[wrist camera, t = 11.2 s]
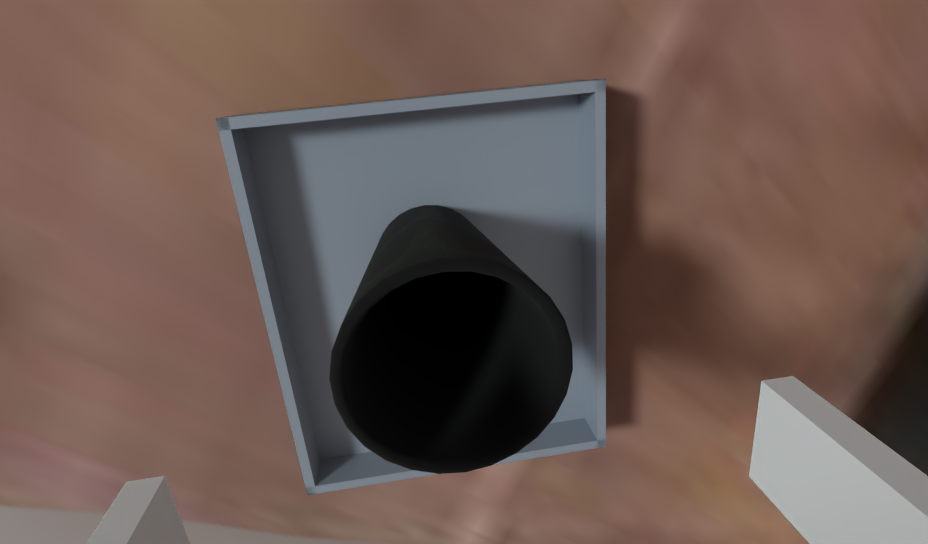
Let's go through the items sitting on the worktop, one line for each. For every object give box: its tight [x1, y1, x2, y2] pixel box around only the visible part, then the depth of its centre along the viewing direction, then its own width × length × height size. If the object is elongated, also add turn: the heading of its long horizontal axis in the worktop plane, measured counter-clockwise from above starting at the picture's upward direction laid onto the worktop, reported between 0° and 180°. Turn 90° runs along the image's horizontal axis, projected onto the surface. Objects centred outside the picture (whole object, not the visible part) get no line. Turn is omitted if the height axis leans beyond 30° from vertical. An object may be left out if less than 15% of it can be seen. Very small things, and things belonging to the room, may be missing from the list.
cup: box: [329, 205, 573, 474], centre depth 22 cm, size 8×8×12 cm
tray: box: [216, 79, 606, 495], centre depth 28 cm, size 20×17×3 cm
